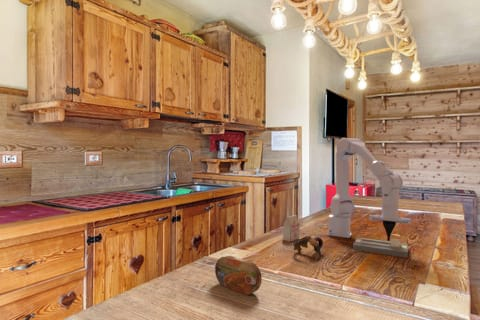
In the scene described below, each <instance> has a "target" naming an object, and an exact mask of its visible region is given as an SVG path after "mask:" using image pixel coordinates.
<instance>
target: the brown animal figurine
mask: <svg viewBox="0 0 480 320" xmlns="http://www.w3.org/2000/svg"><path fill="white" fill-rule="evenodd" d="M308 243H309V244H310V245H311V246H312V247H313V250H314V253H313V254H312V255H313V257H314V260H315V261H316V260H318V259H319V258H321V257H322V253H321V249H322V248H323V245H324V240H323V239H322V238H321V236H320V237H319V236H317V237H314V238H312V236H311V234H310V235H306V236H304V237H301V238H299V239H298V241H297V240H295V242H293V244H292V245H293V251H297V252H298V253H301V251H302V247H303V248H305V249H307V248H309V246H308Z"/></svg>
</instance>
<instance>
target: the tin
mask: <svg viewBox="0 0 480 320" xmlns="http://www.w3.org/2000/svg"><path fill="white" fill-rule="evenodd" d="M214 272H215V277H216V279H217V281H218V283H219V284H220V285H221V286H222V287H224V288H227V289H229V290H232V291H235V292H238V293H240V294H243V295H246V296H247V295H248V296H250V295H252V294H253V293H256V292H257V291H258V290H259V289H260V287H261V285H262V273H261V269H260V268H259V266H257V263H255V262H253V261H250V260H246V259H243V258H239V257H236V256H233V255H226V256H221V257H220V258H218V259H217V261H216V262H215V266H214Z"/></svg>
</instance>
